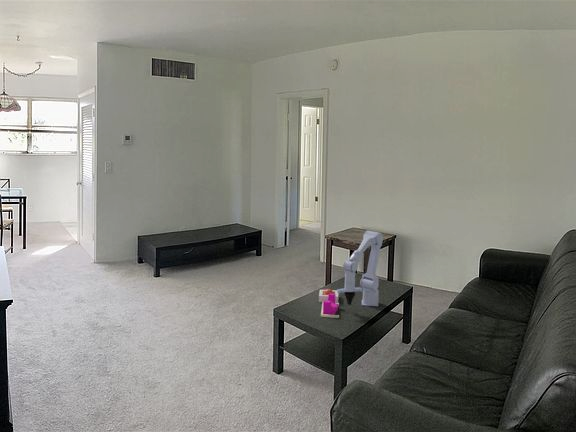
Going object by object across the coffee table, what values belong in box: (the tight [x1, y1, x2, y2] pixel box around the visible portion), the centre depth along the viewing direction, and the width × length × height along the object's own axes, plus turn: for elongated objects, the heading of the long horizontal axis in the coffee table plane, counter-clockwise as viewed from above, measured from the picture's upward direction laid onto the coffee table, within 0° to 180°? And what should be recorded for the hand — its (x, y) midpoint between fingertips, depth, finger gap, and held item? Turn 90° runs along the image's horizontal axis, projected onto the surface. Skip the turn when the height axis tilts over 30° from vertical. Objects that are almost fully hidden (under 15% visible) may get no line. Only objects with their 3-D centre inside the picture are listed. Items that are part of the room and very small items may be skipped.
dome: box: [323, 288, 335, 295], centre depth 288 cm, size 7×7×6 cm
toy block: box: [323, 294, 339, 315], centre depth 270 cm, size 15×6×8 cm, turn 162°
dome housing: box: [318, 289, 339, 303], centre depth 288 cm, size 12×12×4 cm
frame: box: [320, 302, 340, 319], centre depth 270 cm, size 10×20×1 cm, turn 174°
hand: (349, 304), depth 268 cm, fingers closed
